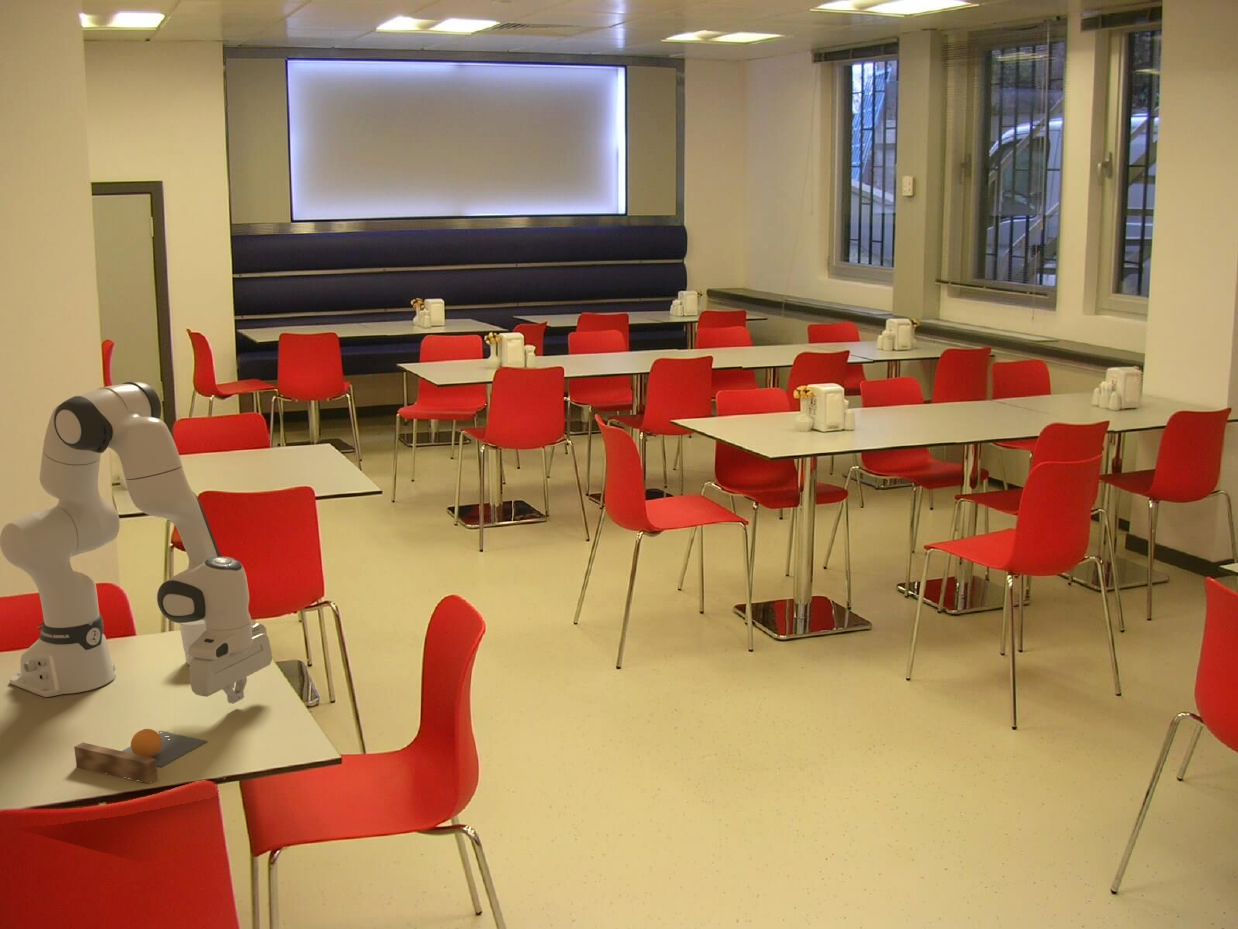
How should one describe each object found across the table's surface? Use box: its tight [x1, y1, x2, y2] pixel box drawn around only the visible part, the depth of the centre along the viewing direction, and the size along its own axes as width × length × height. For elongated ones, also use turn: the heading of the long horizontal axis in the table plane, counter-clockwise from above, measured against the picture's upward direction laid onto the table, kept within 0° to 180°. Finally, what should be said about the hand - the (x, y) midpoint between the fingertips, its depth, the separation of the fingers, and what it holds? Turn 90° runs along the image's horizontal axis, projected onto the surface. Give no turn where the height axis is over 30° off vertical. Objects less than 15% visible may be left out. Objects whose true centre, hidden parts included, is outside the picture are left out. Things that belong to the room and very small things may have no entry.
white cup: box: [179, 620, 206, 666], centre depth 296 cm, size 8×8×10 cm
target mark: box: [122, 730, 208, 768], centre depth 252 cm, size 12×12×1 cm
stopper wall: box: [73, 742, 158, 785], centre depth 242 cm, size 18×2×4 cm, turn 64°
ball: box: [130, 728, 162, 758], centre depth 248 cm, size 6×6×6 cm
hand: (235, 700), depth 270 cm, fingers closed
